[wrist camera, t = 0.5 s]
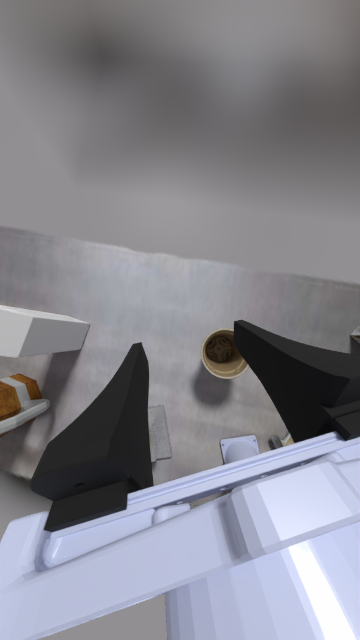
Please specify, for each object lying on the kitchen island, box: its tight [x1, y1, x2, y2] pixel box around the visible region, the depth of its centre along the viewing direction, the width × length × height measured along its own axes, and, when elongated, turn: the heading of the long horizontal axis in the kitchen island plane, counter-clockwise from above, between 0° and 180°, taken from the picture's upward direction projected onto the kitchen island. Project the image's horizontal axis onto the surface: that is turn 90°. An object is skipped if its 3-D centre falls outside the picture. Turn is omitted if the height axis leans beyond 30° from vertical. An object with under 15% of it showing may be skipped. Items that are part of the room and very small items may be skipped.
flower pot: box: [201, 328, 249, 379], centre depth 34 cm, size 9×9×9 cm
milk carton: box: [0, 305, 90, 358], centre depth 32 cm, size 7×7×19 cm
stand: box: [148, 405, 172, 462], centre depth 35 cm, size 11×11×5 cm
